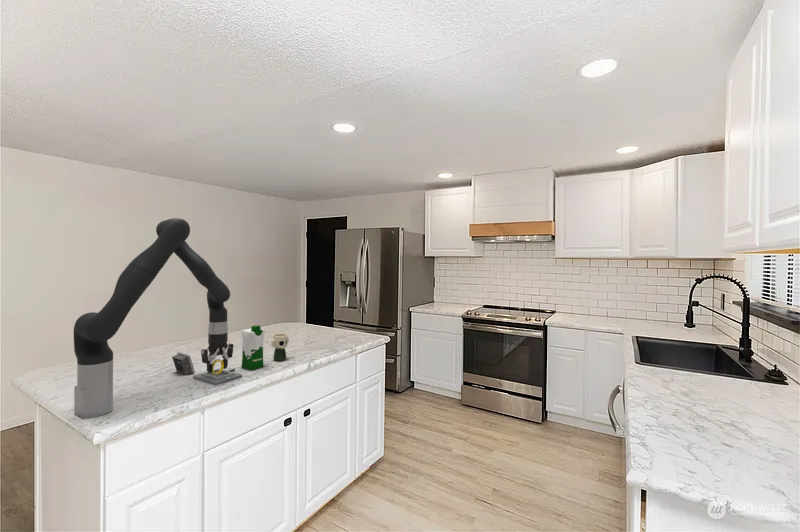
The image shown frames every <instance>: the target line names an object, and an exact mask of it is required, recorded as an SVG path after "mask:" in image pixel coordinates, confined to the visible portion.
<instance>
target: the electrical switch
mask: <svg viewBox="0 0 800 532" xmlns="http://www.w3.org/2000/svg"><path fill="white" fill-rule="evenodd" d="M171 358H172V361H173V362H172V363H173V365H174V367H175V370H176V372H177V373H179V374H180V375H183V376H188V375H190V374H195V372H196V371H195V368H194V364H193V361H192V359H191V355H190V354H189V353H185V352H183V351H177V352H176V355H173V356H172V357H171Z"/></svg>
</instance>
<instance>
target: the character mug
mask: <svg viewBox="0 0 800 532" xmlns="http://www.w3.org/2000/svg"><path fill="white" fill-rule="evenodd" d="M289 340H290V338H289V336H288V334H287V333H285V332H283V333H273V335H272V340H271V342H270V344H271V345H270V346H271V347H272V348H274V351H273V352H274V353H273V360H274V361H284V360H287V353H286V347H287V346H288V343H289V342H290V341H289Z"/></svg>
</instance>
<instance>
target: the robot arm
mask: <svg viewBox="0 0 800 532" xmlns="http://www.w3.org/2000/svg"><path fill="white" fill-rule="evenodd" d="M155 232H156V235H157V238H156V240H155V241H154V242H153V243H152V244H151V245H150V246H149V247H147V248H146V249H145V250H143V251H142V252H140V253H139V254H138V255H137V256H136V257H134V258H133V259H132V260H131V262H129V263H128V265H127V266H126V267H125V269H124V270H123V271H122V272H121V273H120V275H119V276H118V279H117V281H116V284H115V287H114V290H113V294H112V295H111V297H110V299H109V300H108V301H107V303H106V304H104V306H103V307H102V308H101V310H99V312H93V311H92V312H87V313H83V314H81V315H80V316H79V317H78V318H77V319H76V321H75V323H74V326H73V349H74V350H73V352H74V355H75V357H76V361H77V362H76V363H77V367H76V369H77V370H76V371H77V372H76V378H77V380H76V381H77V383H76V385H75V386H73V387H74V388H73V389H74V390H73V391H74V394H73V395H74V399H73V400H74V401H73V404H74V411H73V412H74V414H73V415H74V416H76V417H77V418H79V419H81V420H85V419H89V418H97V417H100V416H104V415H107V414H108V413H110V412H112V411H113V409H114V352H113V350H112V349H111V347H110V345H109V342H108V341H109V340H110V339H112V338H113V337H114V336H115V335H116V334H117V332H118V331H119V329H120V328H121V326H122V324H123V322H124V321H125V319H126V318H127V316H128V314H129V312H130V311H131V309H132V308H133V307H134V305H135V304H136V303H137V302H138V301H139V300H140V298H141V297H142V295H143V294H144V293H145V291H146V290H147V289H148V288H149V286H151V284H152V282H153V281H155V279H156V277H157V276H158V275H159V273H160V272H161V270H162V269H163V267H164V266H165V264H166V263H167V262H168V260H169V259H170V258H171V256H172V255H174V254H175V255H176V256H177V258H178V259H180V260H181V261H182V263H183V264H184V265H185V267H186V268H187V269H188V270H189V271H190V272H191V274H192V275H193V276H194V278H195V279H196V280H197V282H198V283H199V284H200V285H201V286H203V287H204V288H205V289H206V290H207V291H206V292H207V293H206V301H207V307H208V311H209V312H208V313H209V315H208V318H209V320H208V330H207V334H208V335H207V341H208V342H207V343H208V347H207V348H205V349H204V348H202V349H201V350H200V353H201V362H202V364H206V372H209V373H212V368H213V364H212V363H213V362H214V360H215V359H216V357H218V356H221V357H222V359H221V360H222V361H223V363H224V368H223V370H226V369H227V368H228V364H229V360H230V359H231V358H233V355H234V354H233V352H234V345H235V344H233V343H231V342H230V343H228V340H229V339H228V335H229V334H228V333H229V332H228V330H229V327H228V325H229V324H228V309H227V308H226V307H225V304H224V303H226V302H228V300H229V299H230V297H231V291H230V289H229V287H228V286H227V284H226V283H224V282H223V281H222V280H221V278H219V277H218V276H217V275H216V273H215V271H214V270H213V269H212V267H211V266H210V264H209V262H207V261H206V260H205V259H204V258H203V257H201V256H200V254H198V253H197V252H196V251H195V250H194V249H192V247H191V246H190V245H189V244H188V242H187V241H186V240H187V239H188V238H189V236H190V233H191V227H190V224H189V223H188V221H187V220H185V219H183V218H178V217H177V218H176V217H173V218H170V219H169V218H168V219H166V220H162V221H160V222H159V223H158V224H157V225H156V229H155Z"/></svg>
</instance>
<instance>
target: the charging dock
mask: <svg viewBox="0 0 800 532" xmlns="http://www.w3.org/2000/svg"><path fill="white" fill-rule="evenodd" d="M220 369H221V368H216V369H213V370H214V372H215V373H216V372H219V370H220ZM235 370H236V368H232V369H229V370H226V369H223V371H222V372H221V373H218V374H213V373H209V372H208V371H205V372H201V373H198V374H194V375H192V378H193V379H194V380H196V381H200V382H203V383H207V384H210V385H214V386H219V385H222V384H223V385H224V384H225V383H229V382H233V381H235V380H238V379H242V378H243V374H241V373H237V372H235Z"/></svg>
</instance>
